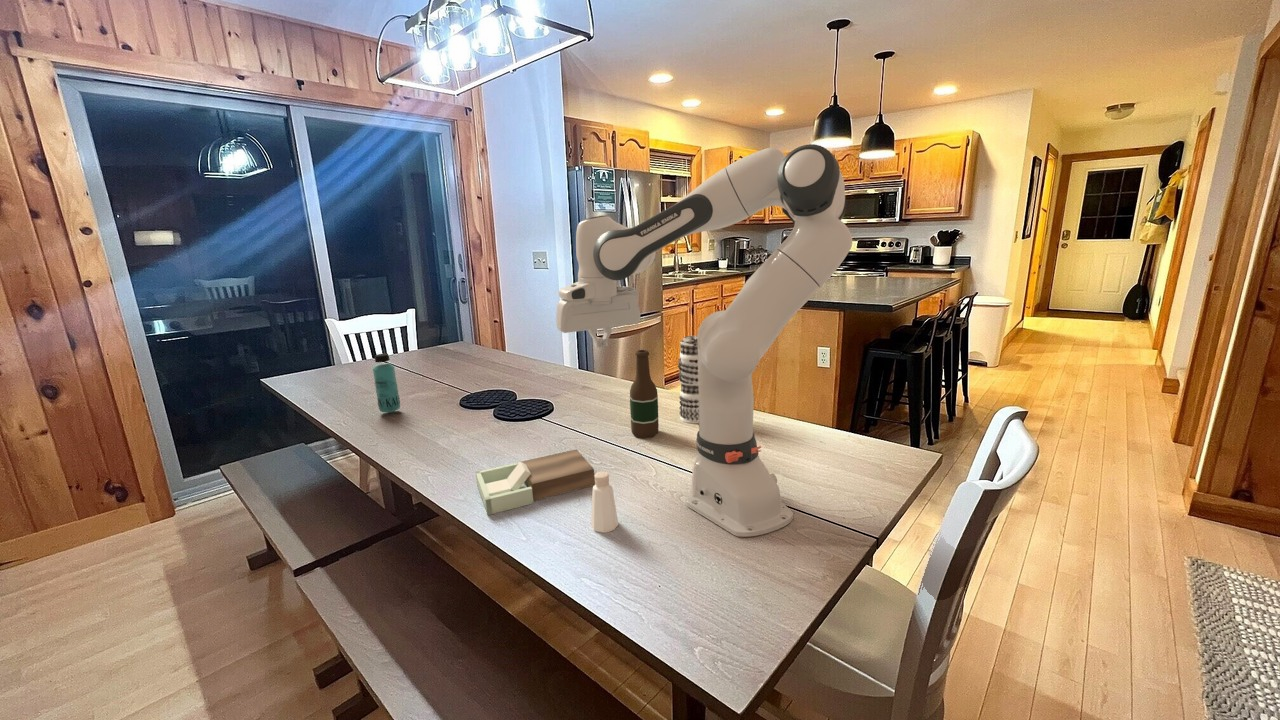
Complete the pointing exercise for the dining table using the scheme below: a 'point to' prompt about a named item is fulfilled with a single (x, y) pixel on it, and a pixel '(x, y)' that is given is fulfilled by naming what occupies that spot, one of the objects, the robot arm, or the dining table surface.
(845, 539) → the dining table surface
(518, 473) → the tile
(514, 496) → the tray
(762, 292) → the robot arm
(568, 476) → the wooden tile base
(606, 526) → the salt shaker
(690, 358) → the decorative candle
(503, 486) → the tile
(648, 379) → the beer bottle
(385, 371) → the beverage bottle
